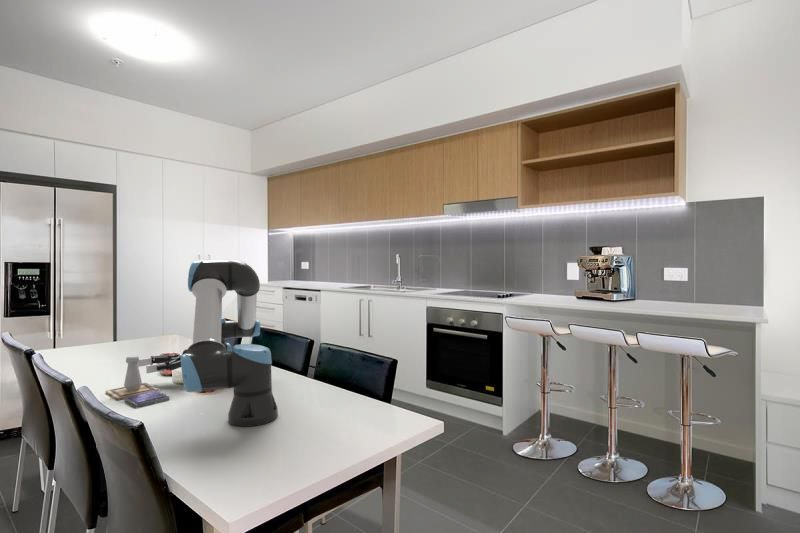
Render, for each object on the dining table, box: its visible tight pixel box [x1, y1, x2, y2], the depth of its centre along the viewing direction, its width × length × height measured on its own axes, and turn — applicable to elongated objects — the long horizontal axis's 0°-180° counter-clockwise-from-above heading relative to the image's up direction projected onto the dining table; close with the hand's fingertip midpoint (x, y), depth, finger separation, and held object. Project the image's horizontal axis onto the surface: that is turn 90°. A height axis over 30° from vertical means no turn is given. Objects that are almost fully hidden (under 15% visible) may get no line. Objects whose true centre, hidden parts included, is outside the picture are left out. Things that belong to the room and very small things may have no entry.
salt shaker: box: [123, 355, 143, 391], centre depth 170 cm, size 6×6×13 cm
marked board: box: [105, 382, 160, 401], centre depth 170 cm, size 14×14×1 cm
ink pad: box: [124, 390, 170, 409], centre depth 160 cm, size 11×11×2 cm
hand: (139, 366), depth 172 cm, fingers open, 13 cm apart
